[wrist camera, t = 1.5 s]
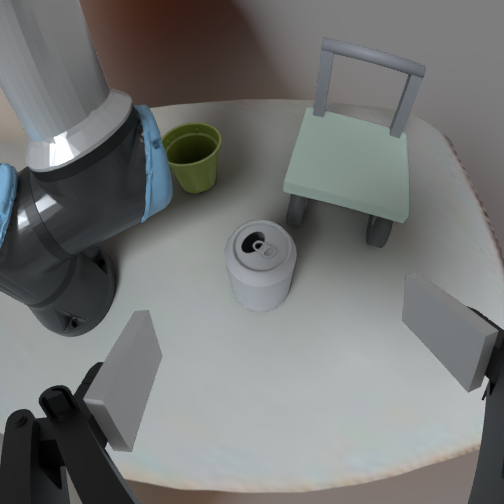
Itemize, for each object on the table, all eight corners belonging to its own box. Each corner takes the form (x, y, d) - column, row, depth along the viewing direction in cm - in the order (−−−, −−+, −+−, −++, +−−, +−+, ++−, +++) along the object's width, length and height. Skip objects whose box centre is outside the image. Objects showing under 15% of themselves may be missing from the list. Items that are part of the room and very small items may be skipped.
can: (258, 251, 44) (257, 201, 33) (300, 284, 41) (313, 242, 30) (221, 288, 41) (206, 247, 31) (263, 325, 39) (263, 296, 28)
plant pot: (189, 153, 53) (180, 117, 45) (236, 167, 51) (232, 129, 43) (160, 192, 49) (145, 156, 41) (209, 210, 47) (200, 173, 39)
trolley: (278, 230, 45) (288, 98, 24) (302, 147, 53) (315, 31, 32) (382, 257, 43) (457, 147, 22) (388, 169, 50) (431, 63, 29)
